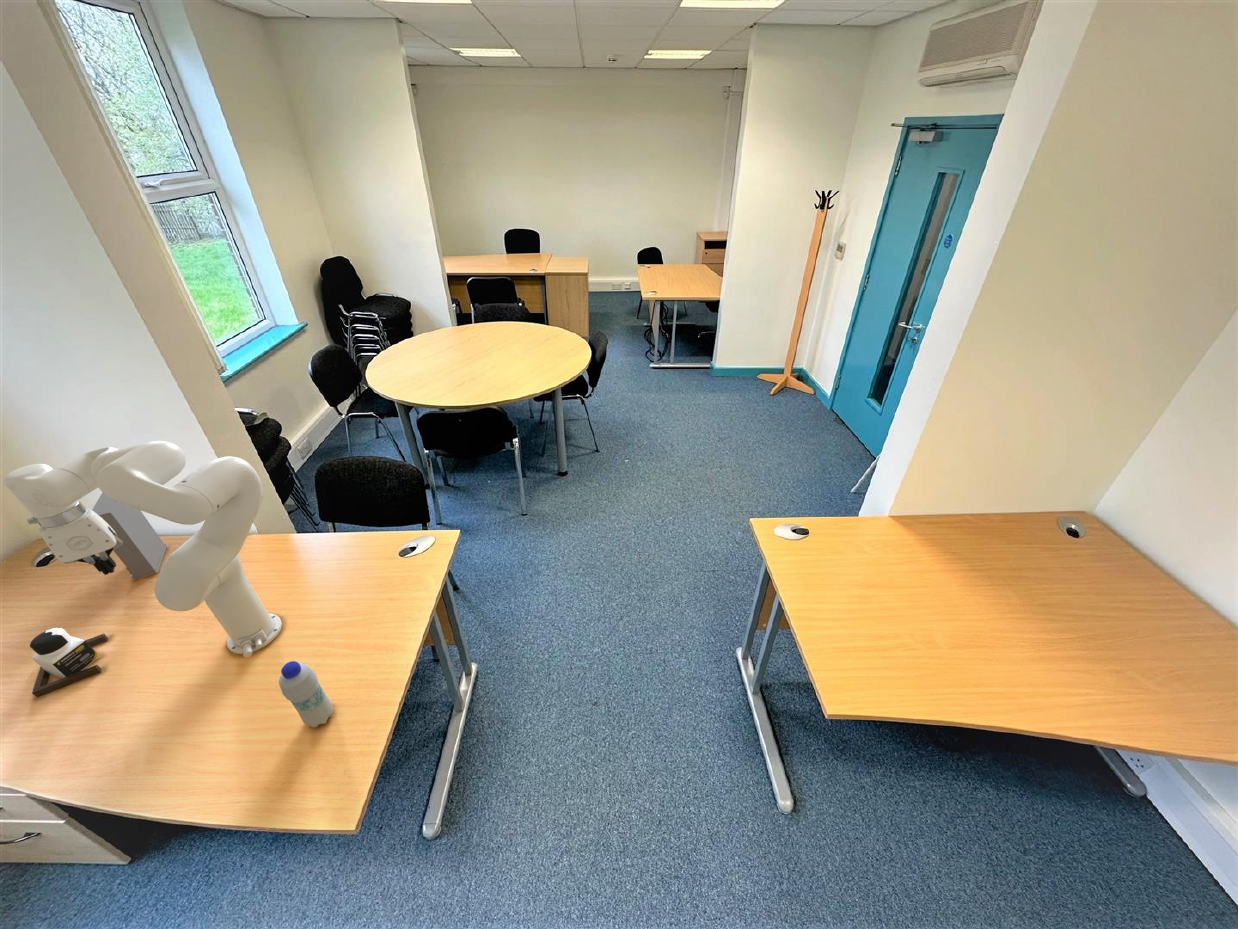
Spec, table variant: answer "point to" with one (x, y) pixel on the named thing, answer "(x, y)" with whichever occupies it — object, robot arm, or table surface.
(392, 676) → the table surface
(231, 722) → the table surface
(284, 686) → the bottle
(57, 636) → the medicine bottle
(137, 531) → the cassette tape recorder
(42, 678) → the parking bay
